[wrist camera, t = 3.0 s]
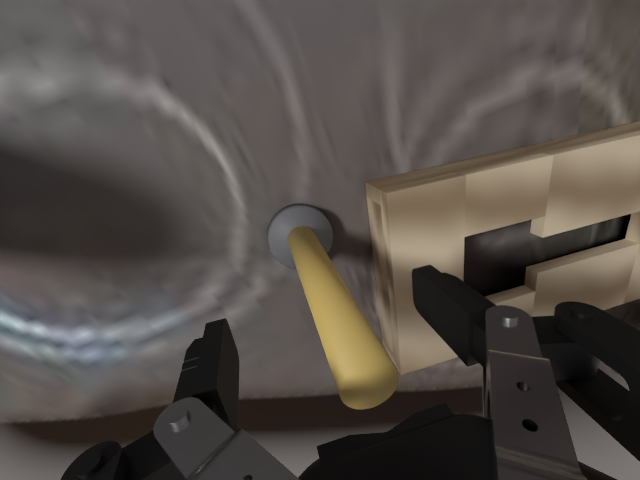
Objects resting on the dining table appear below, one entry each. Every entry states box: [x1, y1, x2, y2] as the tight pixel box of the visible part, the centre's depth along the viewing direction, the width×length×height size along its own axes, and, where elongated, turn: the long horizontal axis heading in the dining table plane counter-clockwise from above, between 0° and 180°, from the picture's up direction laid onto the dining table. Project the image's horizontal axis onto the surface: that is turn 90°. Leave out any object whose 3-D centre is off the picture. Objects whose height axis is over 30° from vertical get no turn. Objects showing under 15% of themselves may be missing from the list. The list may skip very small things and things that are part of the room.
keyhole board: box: [365, 121, 640, 375], centre depth 23 cm, size 14×26×3 cm, turn 100°
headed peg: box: [268, 204, 399, 409], centre depth 15 cm, size 4×4×13 cm
